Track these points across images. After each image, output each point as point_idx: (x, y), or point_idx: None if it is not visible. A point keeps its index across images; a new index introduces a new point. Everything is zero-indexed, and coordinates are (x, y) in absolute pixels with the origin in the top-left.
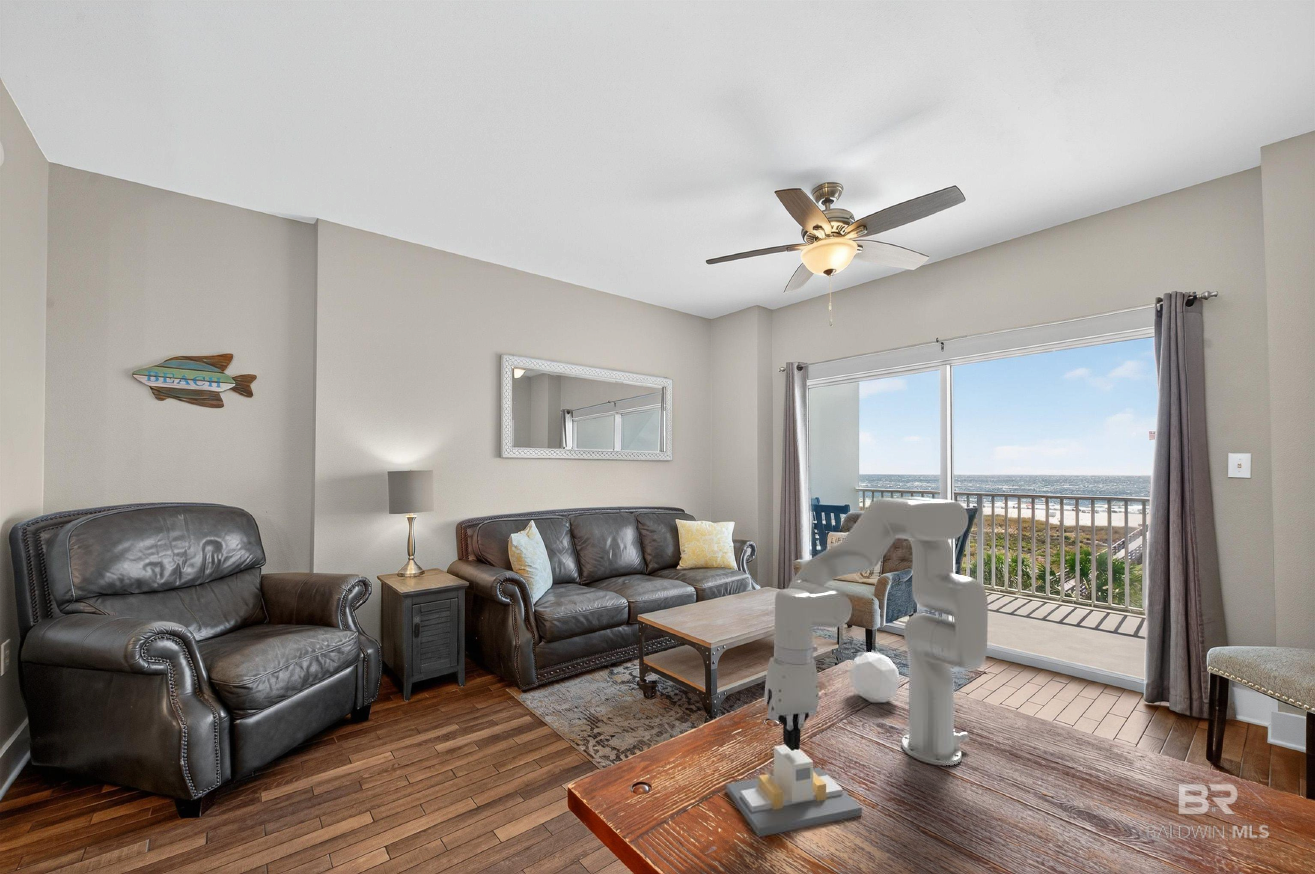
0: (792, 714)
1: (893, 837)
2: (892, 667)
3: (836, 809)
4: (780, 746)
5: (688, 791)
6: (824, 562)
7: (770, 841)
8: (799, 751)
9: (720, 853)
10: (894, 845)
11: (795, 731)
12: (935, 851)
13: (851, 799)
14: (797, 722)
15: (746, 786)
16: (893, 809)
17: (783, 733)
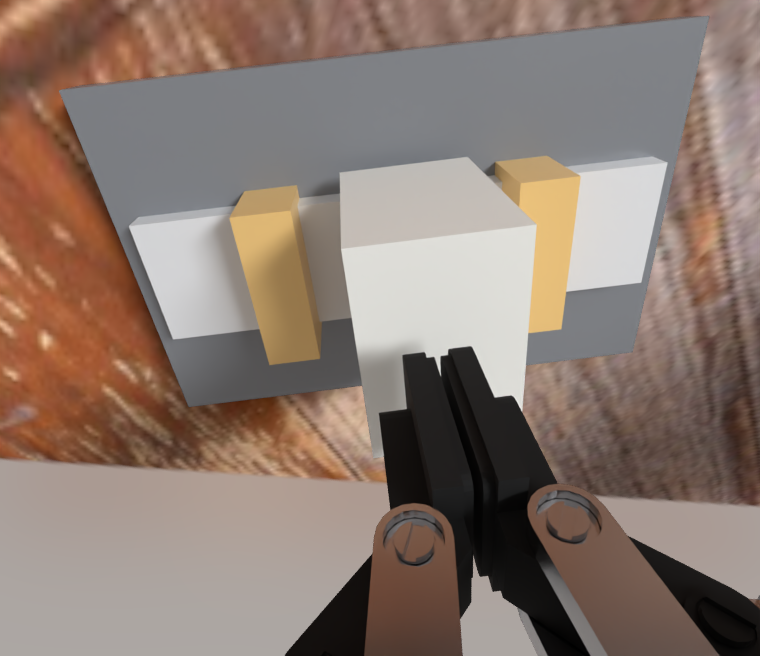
0: (571, 602)
1: (624, 425)
2: None
3: (531, 350)
4: (396, 256)
5: None
6: None
7: (233, 405)
8: (505, 338)
9: (51, 432)
10: (599, 448)
11: (476, 558)
12: (681, 471)
13: (635, 307)
14: (534, 630)
15: (184, 140)
16: (752, 320)
17: (385, 459)
